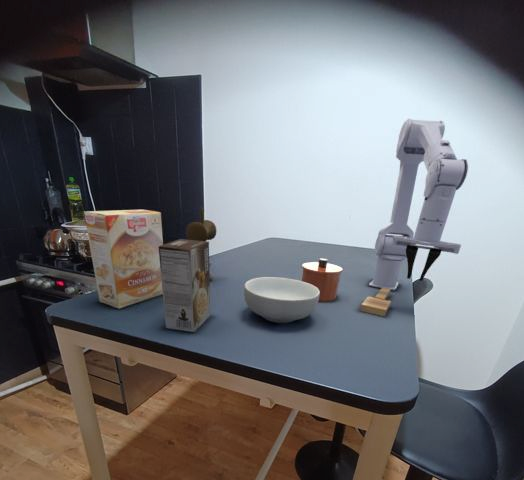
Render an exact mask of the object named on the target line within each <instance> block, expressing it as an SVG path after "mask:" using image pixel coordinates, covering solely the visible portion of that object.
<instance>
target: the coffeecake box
mask: <svg viewBox="0 0 524 480" xmlns="http://www.w3.org/2000/svg"><path fill="white" fill-rule="evenodd" d="M83 214H84V220H85V226H86V232H87V238H88V243H89V249H90V254H91V260H92V261H91V262H92V266H93V271H94V278H95V284H96V290H97V295H98V300H99V303H102V304H104V305H109V306H110V307H112V308H116V309H119V310H120V309H122V308H126V307H129V306H131V305H134V304H137V303H140V302H144V301H146V300H150V299H153V298H156V297H159V296H163V291H162V280H161V268H160V257H159V246H161V245H164V239H163V225H162V223H163V222H162V212H160V211H156V210H148V209H121V210H119V209H117V210H116V209H115V210H92V211H91V210H89V211H88V210H87V211H83Z"/></svg>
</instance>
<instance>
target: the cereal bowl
mask: <svg viewBox="0 0 524 480" xmlns="http://www.w3.org/2000/svg"><path fill="white" fill-rule="evenodd" d="M319 295H320V291H319V289H318V288H317V287H315V286H313V285H311V284H309V283H306V282H303V281H302V280H298V279H293V278H287V277H279V276H277V277H276V276H262V277H255V278H252V279H249V280H247V281H245V283H244V288H243V296H244V301H245V304H246V305H247V306H248V308H249V309H250V310H251V311H252V312H254V314H257V315H259V316H260V317H262V318H263V319H264V320H267V321H269V322H273V323H277V324H278V323H279V324H280V323H281V324H282V323H283V324H285V323H292V322H294V321H296V320H297V321H298V320H301V319H304V318H306V317H308V316H310V315H311V314H312V313H313V312H314V311H315V310H316V308H317V306H318V303H319V301H318V300H319Z"/></svg>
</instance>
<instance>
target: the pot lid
mask: <svg viewBox="0 0 524 480" xmlns="http://www.w3.org/2000/svg"><path fill="white" fill-rule="evenodd" d="M328 261H329V260H328V259H327V258H319V259H318V261H312V262H311V261H310V262H304V263H302V264H301V268H302V270H303V269H305V270H307V271H310V272H315V273H321V274H338V273H342V272H343V268H342V267H341V266H339V265H336V264H332V263H329V262H328Z"/></svg>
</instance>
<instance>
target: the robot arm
mask: <svg viewBox="0 0 524 480" xmlns="http://www.w3.org/2000/svg"><path fill="white" fill-rule="evenodd" d="M445 130H446V125H445V122H444V120H439V121H438V120H425V119H424V120H422V119H411V118H406V120H405V121H404V122H403V123H402V126H401V128H400V131H399V134H398V140H397V144H396V150H395V151H396V152H395V158H396V159H398V161H399V170H398V177H397V182H396V188H395V193H394V199H393V204H392V210H391V215H390V220H389V223H388V224H387V225H385V226H383V227H382V228H381V229H379V231H378V233H377V238H376V240H375V244H374V253H375V256H377V261H376V265H375V269H374V274H373V278H372V280H371V281H370V282H369V284H368V286H369V287H374V288H379V289H382V288H387V289H390V291H396V290H397V288H398V286H399V284H400V283H399V282H398V278H399V275H400V272H401V267H402V264H403V261H405V260H406V261H407V276H406V279H411V277H412V275H413V269H414V264H415V260H416V257H417V254H418V251H419V249H423V250H429V251H428V254H427V257H426V260H425V264H424V267H423V270H422V272H421V274H420V277H419V280H418V281H420V282H423V281H424V278H425V276H426V275H427V273H428V271H429V270H430V268H431V267H432V265H433V264H434V263H435V262H436V260H438V258H439V257H440V256H441V253H442V252H443V253H444V252H445V253H450V254H451V253H452V254H455V255H458V254H459V253H460V249H461V247H462V244H461V243H455V242H448V241H442V240H441V239H442V235H443V233H444V230H445V227H446V224H447V221H448V217H449V214H450V212H451V208H452V206H453V205H452V204H453V201H454V198H455V196H456V193H457V191H458V190H459V189H460V188H461V187H462V186H463V185H464V183H465V180H466V178H467V176H468V171H469V163H468V159H465V158H461V159H458V157H457V156H456V154H455V152H454V150H453V148H452V145H451V142H450V141H449V140H447V139H443V138H444V134H445V132H446V131H445ZM421 163H423V164H424V166H425V169H426V171H427V173H426V176H425V181H424V184H425V185H424V190H423V197H424V199H423V203H422V207H421V210H420V214H419V218H418V221H417V225H416V228H415V231H414V230H412V228H411V227H410V226H409V225H408V221H409V217H410V210H411V206H412V201H413V200H412V199H413V194H414V190H415V185H416V181H417V176H418V175H417V174H418V170H419V166H420V164H421Z"/></svg>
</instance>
